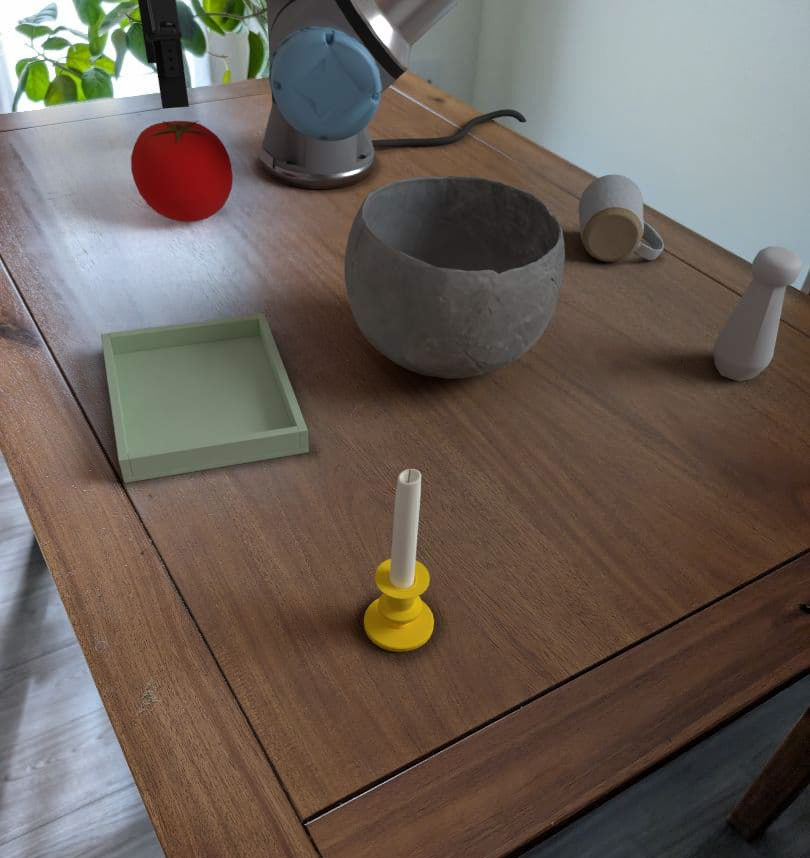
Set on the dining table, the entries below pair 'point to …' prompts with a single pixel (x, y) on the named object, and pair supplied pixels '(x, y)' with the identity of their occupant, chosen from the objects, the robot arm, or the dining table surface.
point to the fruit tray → (200, 397)
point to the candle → (402, 579)
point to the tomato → (182, 170)
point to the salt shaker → (756, 316)
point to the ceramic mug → (616, 221)
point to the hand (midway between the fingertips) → (167, 83)
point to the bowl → (453, 273)
